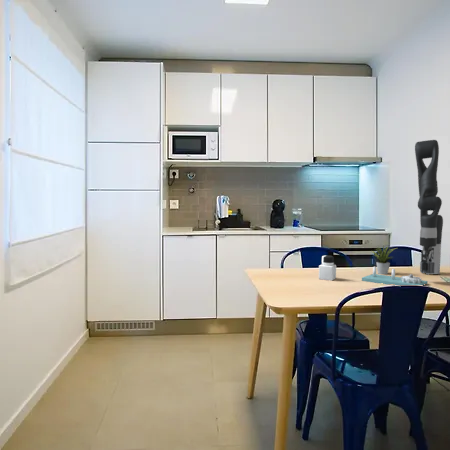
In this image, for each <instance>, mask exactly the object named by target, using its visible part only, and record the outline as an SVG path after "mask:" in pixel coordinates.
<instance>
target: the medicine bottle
mask: <svg viewBox="0 0 450 450" xmlns="http://www.w3.org/2000/svg"><path fill="white" fill-rule="evenodd" d="M335 279H337V265H336V264H335V257H334V256H332V255H326V254H325V255H322V256H321V264H320V265H318V280H322V281H323V280H324V281H333V280H335Z"/></svg>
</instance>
